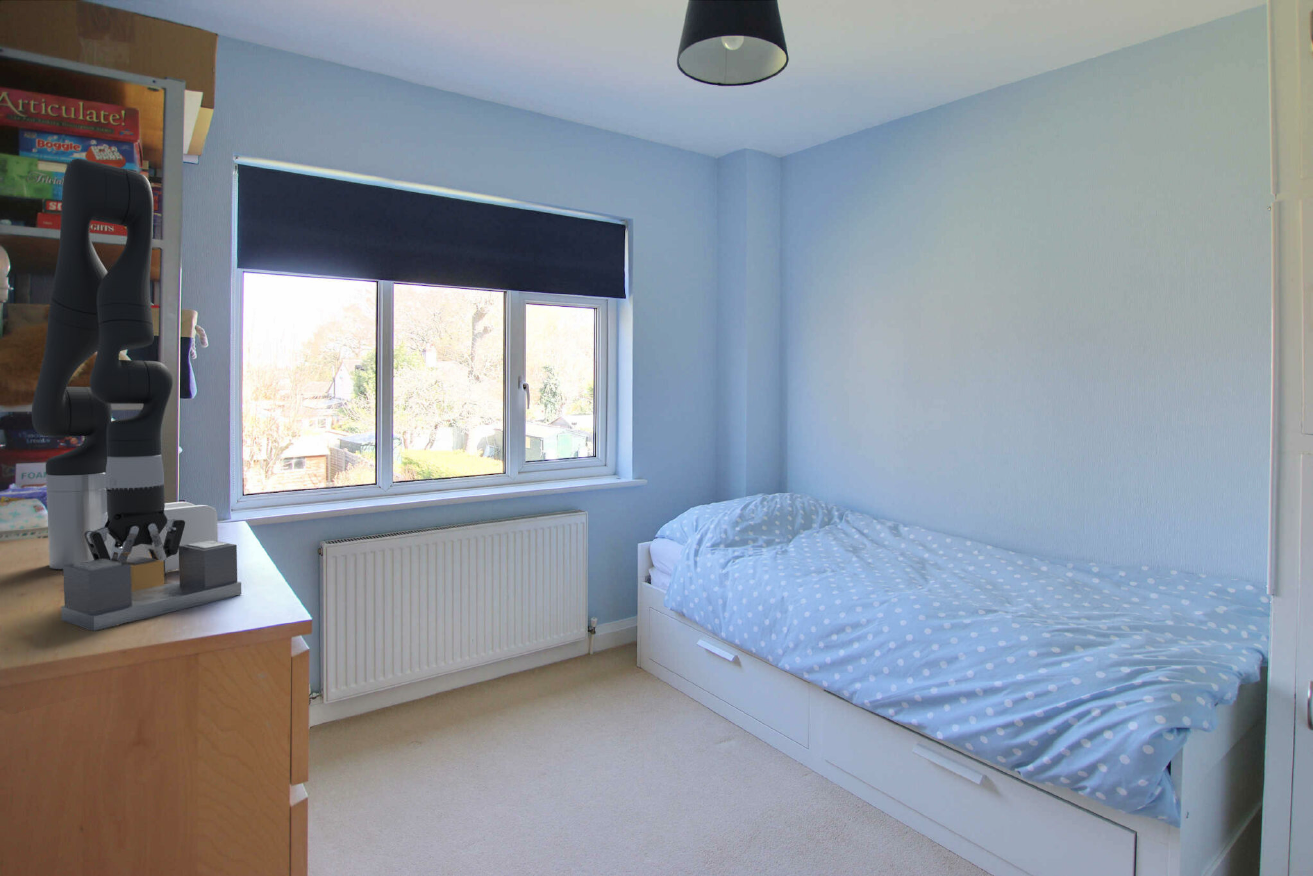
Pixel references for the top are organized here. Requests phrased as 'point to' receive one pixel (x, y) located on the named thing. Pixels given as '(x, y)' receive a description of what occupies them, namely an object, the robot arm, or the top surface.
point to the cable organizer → (195, 530)
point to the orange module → (146, 573)
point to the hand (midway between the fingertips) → (138, 586)
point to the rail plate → (107, 600)
